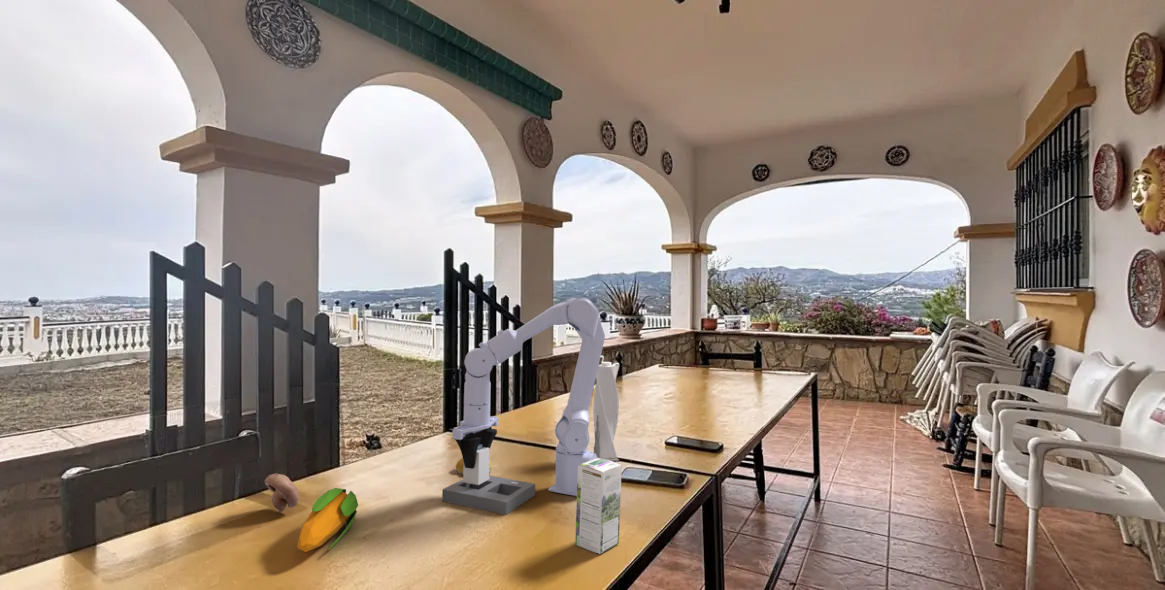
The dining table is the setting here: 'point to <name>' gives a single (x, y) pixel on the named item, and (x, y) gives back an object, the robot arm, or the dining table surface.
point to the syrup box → (598, 505)
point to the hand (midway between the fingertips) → (475, 464)
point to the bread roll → (460, 464)
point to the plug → (478, 467)
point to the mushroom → (282, 491)
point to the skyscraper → (606, 410)
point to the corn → (328, 518)
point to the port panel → (490, 494)
